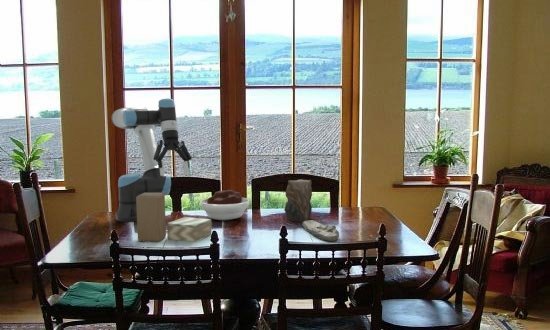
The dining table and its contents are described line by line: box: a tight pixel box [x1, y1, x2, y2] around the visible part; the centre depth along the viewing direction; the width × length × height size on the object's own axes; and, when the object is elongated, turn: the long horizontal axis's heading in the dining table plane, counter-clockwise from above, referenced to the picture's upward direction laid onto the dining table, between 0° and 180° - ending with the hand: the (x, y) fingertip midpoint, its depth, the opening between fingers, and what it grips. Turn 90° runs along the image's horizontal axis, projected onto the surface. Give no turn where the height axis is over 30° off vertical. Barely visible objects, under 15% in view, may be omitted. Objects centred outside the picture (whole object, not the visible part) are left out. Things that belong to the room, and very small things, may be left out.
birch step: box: [166, 216, 213, 243], centre depth 242 cm, size 14×14×7 cm
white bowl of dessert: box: [199, 189, 250, 221], centre depth 280 cm, size 25×25×15 cm
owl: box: [283, 178, 313, 223], centre depth 277 cm, size 13×13×20 cm
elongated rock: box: [301, 219, 340, 242], centre depth 247 cm, size 35×5×10 cm
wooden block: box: [136, 193, 167, 243], centre depth 237 cm, size 10×10×20 cm
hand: (175, 175), depth 256 cm, fingers open, 13 cm apart
